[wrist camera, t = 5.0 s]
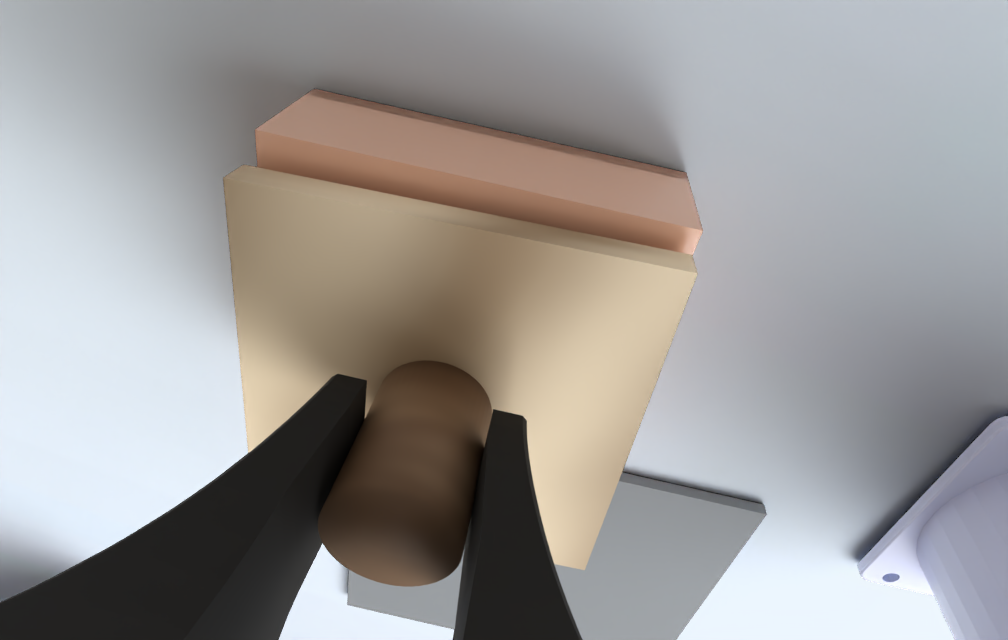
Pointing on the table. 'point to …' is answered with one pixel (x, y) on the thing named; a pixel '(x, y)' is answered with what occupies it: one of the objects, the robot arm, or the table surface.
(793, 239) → the table surface
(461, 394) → the lid
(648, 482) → the mat
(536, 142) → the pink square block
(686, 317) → the table surface
